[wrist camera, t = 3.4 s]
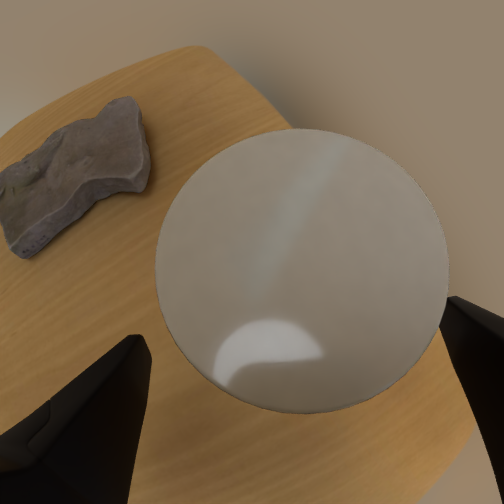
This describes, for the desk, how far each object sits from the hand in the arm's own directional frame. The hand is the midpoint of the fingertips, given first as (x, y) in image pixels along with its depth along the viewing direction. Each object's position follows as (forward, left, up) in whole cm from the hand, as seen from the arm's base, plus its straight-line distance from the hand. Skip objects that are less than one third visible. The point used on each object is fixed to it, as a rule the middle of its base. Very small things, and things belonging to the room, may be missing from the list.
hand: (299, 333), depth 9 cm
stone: (+18, +9, -9) cm, 21 cm away
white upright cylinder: (+1, 0, -8) cm, 8 cm away
